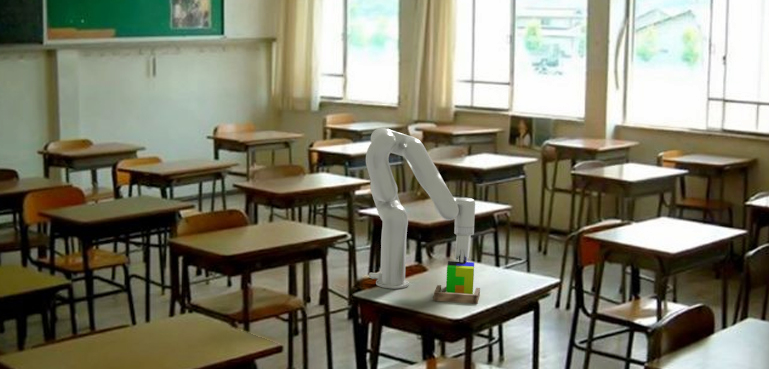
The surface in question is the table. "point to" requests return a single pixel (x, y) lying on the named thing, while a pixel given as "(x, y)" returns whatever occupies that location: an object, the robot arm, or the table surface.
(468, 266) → the puzzle toy
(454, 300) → the base frame
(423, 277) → the table surface
